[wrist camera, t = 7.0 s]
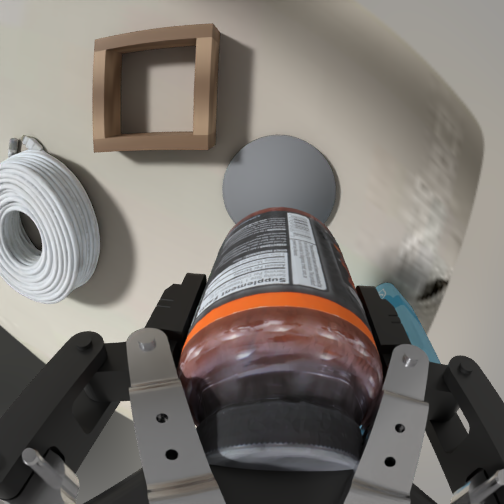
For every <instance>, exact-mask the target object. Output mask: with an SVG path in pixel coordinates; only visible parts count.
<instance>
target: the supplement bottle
mask: <svg viewBox="0 0 504 504" xmlns="http://www.w3.org/2000/svg"><path fill="white" fill-rule="evenodd" d="M177 375H178V379H180V381H181V384H182V387H183V390H184V393H185V397H186V400H187V403H188V406H189V409H190V412H191V416H192V419H193V422H194V424H195V425H196V426H197V428H196V430H197V433H198V436H199V438H200V440H201V445H202V447H203V450H204V453H205V456H206V458H207V461H208V464H211V465H218V466H224V467H232V468H242V469H254V470H271V471H338V470H350V469H354V467H355V465H356V463H357V461H358V458H359V455H360V452H361V446H362V434H361V429H360V426H361V425H362V424H364V423H365V422H366V420H367V419H368V418H369V416H370V414H371V412H372V410H373V408H374V406H375V403H376V401H377V398H378V395H379V392H380V389H381V387H382V383H383V372H382V363H381V361H380V356H379V353H378V350H377V347H376V344H375V341H374V338H373V335H372V331H371V328H370V326H369V323H368V321H367V317H366V315H365V312H364V309H363V306H362V303H361V301H360V299H359V297H358V294H357V292H356V289H355V286H354V283H353V281H352V278H351V276H350V273H349V270H348V268H347V265H346V263H345V261H344V258H343V254H342V252H341V250H340V248H339V245H338V244H337V242H336V240H335V238H334V237H333V235H332V234H331V232H330V231H329V229H328V228H327V227H326V226H325V225H324V224H323V223H322V222H321V221H320V220H319V219H317V218H315V217H314V216H312V215H311V214H309V213H306V212H303V211H300V210H297V209H293V208H287V207H272V208H266V209H263V210H259V211H256V212H254V213H252V214H250V215H248V216H246V217H245V218H243V219H242V220H240V221H239V222H238V223H237V224H236V225H235V226H234V227H233V228H232V229H231V230H230V231H229V233H228V235H227V237H226V238H225V240H224V242H223V244H222V246H221V248H220V250H219V253H218V256H217V258H216V261H215V263H214V266H213V268H212V271H211V274H210V276H209V278H208V281H207V284H206V287H205V289H204V291H203V294H202V297H201V300H200V302H199V305H198V308H197V310H196V313H195V316H194V319H193V321H192V324H191V327H190V329H189V332H188V335H187V339H186V341H185V344H184V347H183V349H182V352H181V355H180V358H179V363H178V367H177Z"/></svg>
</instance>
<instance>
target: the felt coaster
mask: <svg viewBox="0 0 504 504" xmlns="http://www.w3.org/2000/svg"><path fill="white" fill-rule="evenodd" d="M222 189H223V199H224V204H225V207H226V210H227V212H228V214H229V216H230V217H231V219H232V220H233V222H234V223H235V224H237V223H238V222H239V221H240V220H242V219H243V218H245V217H246V216H248V215H250V214H252V213H254V212H256V211H259V210H263V209H266V208H272V207H287V208H293V209H297V210H300V211H303V212H306V213H309V214H311V215H312V216H314V217H315V218H317V219H319V220H320V221H321V222H322V223H323V224H324V223H325V221H326V220H327V219H328V217H329V215H330V213H331V211H332V209H333V206H334V202H335V197H336V184H335V179H334V175H333V172H332V169H331V167H330V165H329V163H328V162H327V160H326V159H325V158H324V156H323V155H322V154H321V153H320V152H319V151H318V150H317V149H316V148H315V147H313V146H312V145H311V144H309V143H307V142H306V141H303V140H301V139H299V138H296V137H292V136H287V135H271V136H266V137H262V138H259V139H256V140H254V141H252V142H250V143H249V144H247V145H246V146H244V147H243V148H242V149H241V150H240V151H239V152H238V153H237V154H236V155H235V156H234V158H233V159H232V160H231V162H230V164H229V165H228V167H227V170H226V172H225V175H224V180H223V188H222Z"/></svg>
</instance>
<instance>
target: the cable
mask: <svg viewBox="0 0 504 504" xmlns="http://www.w3.org/2000/svg"><path fill="white" fill-rule="evenodd" d="M21 140H22V142H23V145H25V146H26V147H27V148H28V150H25V151H22V152H20V153H18V154H17V148H18V139H17V138H11V139H10V142H9V151H8V158H7V159H6V160H5V161H3V162H1V163H0V276H1V277H2V278H3V279H4V280H5V282H6V283H7V284H8V285H9V286H10V287H12V288H13V289H14V290H15V291H17V292H18V293H19V294H21V295H23V296H25V297H27V298H29V299H31V300H33V301H36V302H39V303H44V304H53V303H57V302H60V301H62V300H63V299H64V298H66V297H67V296H68V295H69V293H70V292H71V291H73V290H74V289H76V288H77V287H80V286H82V285H83V284H85V283H86V282H87V281H88V280H89V279H90V277H91V276H92V275H93V273H94V271H95V269H96V266H97V262H98V258H99V253H100V235H99V228H98V223H97V219H96V216H95V213H94V210H93V207H92V204H91V202H90V199H89V197H88V195H87V193H86V191H85V189H84V188H83V186H82V184H81V183H80V181H79V180H78V179H77V177H76V176H75V175H74V174H73V173H72V172H71V171H70V170H69V169H68V168H67V167H66V166H65V165H64V164H63V163H62V162H60V161H59V160H58V159H56V158H55V157H53V156H51V155H50V154H47V153H46V152H45V151H44V150H43V147H42V146H41V145H40V144H39V143H38V141H37V140H35V139H34V138H33V137H30V136H26V135H23V136H22V138H21ZM19 211H21V212H23V213H25V214H27V215H28V216H29V217H30V218H31V219H32V220H33V222H34V223H35V224H36V226H37V228H38V230H39V233H40V235H41V239H42V251H40V250H38V249H37V248H36V247H35V246H34V245H33V244H32V242H31V241H30V239H29V238H28V236H27V234H26V232H25V230H24V228H23V225H22V223H21V219H20V214H19Z"/></svg>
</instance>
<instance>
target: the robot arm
mask: <svg viewBox="0 0 504 504" xmlns="http://www.w3.org/2000/svg"><path fill="white" fill-rule="evenodd" d="M206 284H207V280H206V275H205V274H194V273H187V274H186V276H185V278H184V280H183V282H182V284H181V285H180V284H173V285H171V286H170V287H169V288H167V289H166V290H165V291H164V293H163V295H162V296H161V298H160V300H159V302H158V304H157V307H155V309H154V311H153V313H152V315H151V317H150V319H149V320H148V322H147V324H146V326H145V328H143V329H139V330H137V331H135V332H133V333H132V334H131V335H130V336H129V337H128V339H127V341H126V342H120V343H104V341H103V338H102V337H101V336H100V335H99V334H98V333H95V332H91V331H86V332H81V333H78V334H76V335H74V336H73V337H71V338H70V339H69V340H68V341H67V342H66V343H65V345H64V346H63V347H62V348H61V349H60V350H59V351H58V352H57V353H56V354H55V355H54V357H53V358H52V359H51V360H50V361H49V362H48V363H47V364H46V366H45V367H44V368H43V369H42V370H41V371H40V372H39V373H38V374H37V376H36V377H35V378H34V379H33V380H32V381H31V382H30V384H29V385H28V386H27V387H26V388H25V389H24V391H23V392H22V393H21V394H20V395H19V397H18V398H17V399H16V400H15V401H14V402H13V404H12V405H11V406H10V407H9V409H8V410H7V411H6V412H5V413H4V415H3V416H2V417H1V418H0V500H1V501H2V502H3V503H5V504H76V497H77V495H78V491H79V481H78V478H77V476H76V475H75V473H76V472H77V470H78V468H79V467H80V465H81V463H82V462H83V460H84V458H85V457H86V455H87V454H88V452H89V450H90V449H91V447H92V445H93V444H94V442H95V441H96V439H97V438H98V436H99V434H100V433H101V431H102V430H103V428H104V426H105V425H106V423H107V422H108V420H109V419H110V417H111V416H112V414H113V412H114V411H115V409H116V408H117V406H118V405H119V403H120V401H130V402H131V409H132V415H133V421H134V427H135V433H136V438H137V443H138V448H139V453H140V458H141V463H142V468H141V469H139V470H138V471H136V472H135V473H133V474H132V475H130V476H129V477H127V478H125V479H124V480H122V481H121V482H119V483H118V484H116V485H114V486H113V487H111V488H110V489H108V490H106V491H104V492H103V493H101V494H100V495H98V496H96V497H94V498H93V499H91V500H89V501H87V502H86V503H84V504H437V503H436V502H435V501H434V500H432V499H431V498H430V497H429V496H428V495H426V494H425V493H424V492H423V491H422V490H420V489H419V488H418V487H417V486H416V485H414V484H413V479H414V475H415V472H416V468H417V464H418V460H419V456H420V451H421V447H422V442H423V437H424V432H425V431H426V433H427V436H428V438H429V440H430V442H431V444H432V447H433V449H434V451H435V453H436V455H437V458H438V460H439V462H440V465H441V467H442V469H443V471H444V474H445V476H446V479H447V481H448V483H449V486H450V488H451V491H452V493H453V496H452V498H451V503H450V504H504V403H503V401H502V400H501V398H500V397H499V395H498V393H497V392H496V390H495V389H494V387H493V386H492V385H491V383H490V382H489V380H488V379H487V377H486V376H485V374H484V373H483V371H482V370H481V369H480V367H479V366H478V365H477V363H475V361H473V360H472V359H470V358H468V357H466V356H455V357H453V358H452V359H451V360H450V362H449V364H448V365H443V364H438V363H434V362H430V361H429V358H428V356H427V354H426V353H425V352H424V351H423V350H422V349H420V348H419V347H417V346H414V345H412V344H411V342H410V340H409V338H408V335H407V333H406V331H405V329H404V327H403V324H402V323H401V320H400V318H399V317H398V314H397V312H396V310H395V307H394V306H393V305H392V304H391V303H390V302H389V301H388V300H386V299H381V298H380V296H379V293H378V291H377V289H376V287H374V286H357V287H356V292H357V294H358V297H359V299H360V301H361V303H362V306H363V309H364V312H365V315H366V317H367V321H368V323H369V326H370V328H371V331H372V335H373V338H374V341H375V344H376V347H377V350H378V353H379V356H380V361H381V363H382V372H383V383H382V387H381V389H380V392H379V395H378V398H377V401H376V403H375V406H374V408H373V410H372V412H371V414H370V416H369V418H368V419H367V420H366V422H365V423H364V424H362V425H361V426H360V429H361V434H362V446H361V452H360V455H359V458H358V461H357V463H356V465H355V467H354V469H350V470H338V471H271V470H254V469H242V468H232V467H224V466H218V465H211V464H208V461H207V458H206V456H205V453H204V450H203V447H202V445H201V440H200V438H199V436H198V433H197V430H196V427H195V425H194V422H193V419H192V416H191V412H190V409H189V406H188V403H187V400H186V397H185V393H184V390H183V387H182V384H181V381H180V379H178V375H177V367H178V363H179V358H180V355H181V352H182V349H183V347H184V344H185V341H186V339H187V335H188V332H189V329H190V327H191V324H192V321H193V319H194V316H195V313H196V310H197V308H198V305H199V302H200V300H201V297H202V294H203V291H204V289H205V287H206ZM459 408H461V410H462V412H463V414H464V416H465V417H466V419H467V421H468V423H469V427H470V430H469V434H468V433H467V431H466V429H465V428H464V426H463V424H462V422H461V420H460V418H459V416H458V415H457V413H456V412H457V410H458V409H459Z"/></svg>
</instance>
